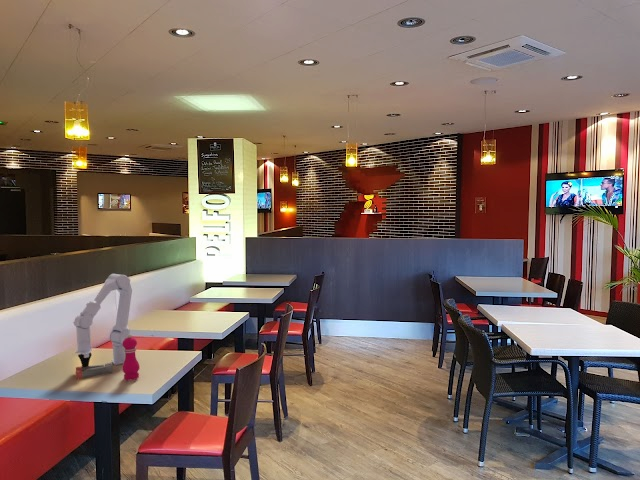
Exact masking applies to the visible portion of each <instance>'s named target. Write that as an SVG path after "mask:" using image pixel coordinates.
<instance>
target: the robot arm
mask: <svg viewBox="0 0 640 480" xmlns="http://www.w3.org/2000/svg"><path fill="white" fill-rule="evenodd" d="M116 290H117V291H118V292H119V297H118V306H117V312H116V321H115V324H114V326H113V327H112V329H111V331H110V333H109V340H110V341H111V343H112V352H113V353H112V356H113V357H112V358H113V359H112V360H111V362H112V363H113V364H112V365H114V366H116V365H117V366H118V365H121V364H122V365H123V364H124V361H125V356H126V355H125V352H124V349H125V348H124V347H123V341H124V339H126V338H128V337H127V335H128V334H131V329H130V327H129V325H128V322H129V315H130V310H131V309H130V308H131V303H132V301H131V300H132V294H133V289H132V285H131V279H130V277H128V276H127V275H125V274H117V273H111V274H110V275H108V277H107V278H106V280H105V281H104V284H103V285H102V287H101V289H100V290H99V292H98V293H97V295H96V296H95V298H94V299H93V300H92V301H89V302H87V303H86V304H85V305H86V306H85V307H84V309H83V310H82V311H81V312H80V314H79V315H77V316H76V317H75V318H74V321H73V322H72V323H73V325H74V326H75V327H76V341H77V342H76V345H77V350H74V353H75V354H77V357H78V358H79V360H80V363H81V366H90V360H91V358H92V350H93V349H92V341H91V340H92V339H91V326H92V325H93V320H94V318H95V316H96V315H97V314H98V312H99V311H100V309H101V304H102V303H103V302H104V300H105V299H106V298H107V297H108V295H109V294H110V293H111V292H113V291H116Z"/></svg>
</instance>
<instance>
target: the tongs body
mask: <svg viewBox="0 0 640 480" xmlns="http://www.w3.org/2000/svg"><path fill="white" fill-rule="evenodd" d="M112 363H113V362H112ZM112 363H111V362H109V363H108V362H107V363H105V364H104V366H102V367H96V368H91V369H85V370H80V371H76V370H75V379H76V380H82V379H86V378H92V377H97V376H102V375H108V374H112V373H113V364H112Z"/></svg>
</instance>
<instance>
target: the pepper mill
mask: <svg viewBox="0 0 640 480" xmlns="http://www.w3.org/2000/svg"><path fill="white" fill-rule="evenodd" d="M127 337H128V338H126V339H124V341H123V347H124V348H125V349H124V352H125V355H126V356H125V361H124V363H123V364H122V372H123V373H124V375H123V379H124V380H125V381H134V380H136V379H138V378H139V377H140V373H139V371H140V363H139V362H138V361H139V360H138V359H137V357H136V356H137V355H136V352H137V345H138V341H137V339H136V338H135V337H132V334H131V333H130V334H128V335H127Z"/></svg>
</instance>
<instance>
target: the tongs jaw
mask: <svg viewBox="0 0 640 480" xmlns="http://www.w3.org/2000/svg"><path fill="white" fill-rule="evenodd" d="M102 366H105V364H96V365H89V366H82V365H81V366H76V367H75V372H76V371H80V370H85V369H91V368H96V367H102Z"/></svg>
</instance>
